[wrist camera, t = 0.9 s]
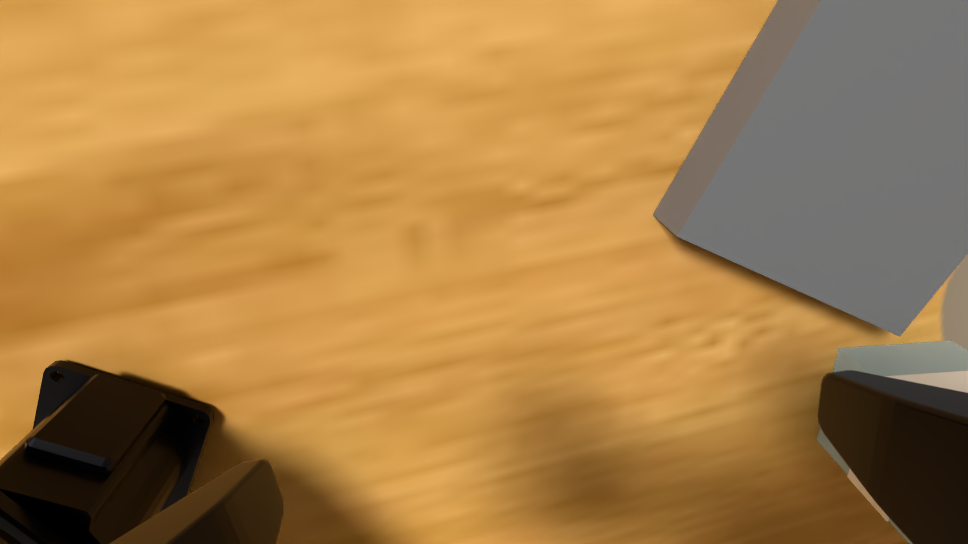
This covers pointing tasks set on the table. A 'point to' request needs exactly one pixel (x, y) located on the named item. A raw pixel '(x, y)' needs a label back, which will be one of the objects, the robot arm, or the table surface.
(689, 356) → the table surface
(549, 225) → the table surface
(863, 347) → the carton
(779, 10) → the podium
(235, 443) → the table surface
